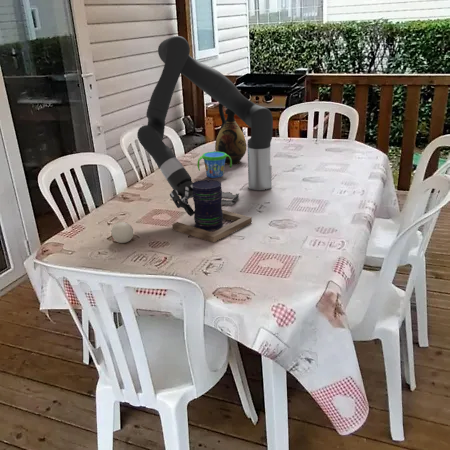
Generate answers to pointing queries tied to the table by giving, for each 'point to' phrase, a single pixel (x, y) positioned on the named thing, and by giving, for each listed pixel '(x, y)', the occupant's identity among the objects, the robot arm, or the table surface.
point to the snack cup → (214, 163)
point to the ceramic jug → (230, 138)
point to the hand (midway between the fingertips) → (201, 211)
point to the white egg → (122, 232)
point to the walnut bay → (214, 236)
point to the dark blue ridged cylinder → (208, 204)
